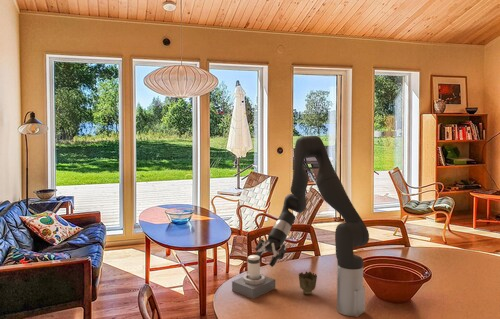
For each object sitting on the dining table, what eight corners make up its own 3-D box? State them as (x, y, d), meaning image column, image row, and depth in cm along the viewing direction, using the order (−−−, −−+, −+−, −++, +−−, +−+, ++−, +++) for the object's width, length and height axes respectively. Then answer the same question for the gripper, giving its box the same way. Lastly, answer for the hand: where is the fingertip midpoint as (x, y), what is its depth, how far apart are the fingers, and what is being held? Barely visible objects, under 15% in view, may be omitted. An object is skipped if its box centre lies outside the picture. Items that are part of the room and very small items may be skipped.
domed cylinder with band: (262, 280, 159) (262, 256, 159) (254, 283, 156) (254, 259, 155) (253, 276, 163) (253, 254, 162) (245, 280, 159) (245, 257, 158)
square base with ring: (275, 288, 160) (275, 275, 160) (253, 299, 150) (253, 285, 150) (254, 281, 168) (254, 269, 168) (232, 290, 158) (232, 277, 158)
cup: (302, 298, 151) (302, 278, 150) (295, 291, 158) (295, 272, 157) (319, 296, 153) (320, 277, 152) (312, 289, 160) (312, 270, 159)
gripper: (263, 224, 173) (246, 255, 166) (288, 230, 164) (272, 262, 156) (271, 234, 178) (255, 263, 170) (295, 239, 168) (279, 271, 160)
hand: (263, 263), depth 163 cm, fingers open, 8 cm apart
